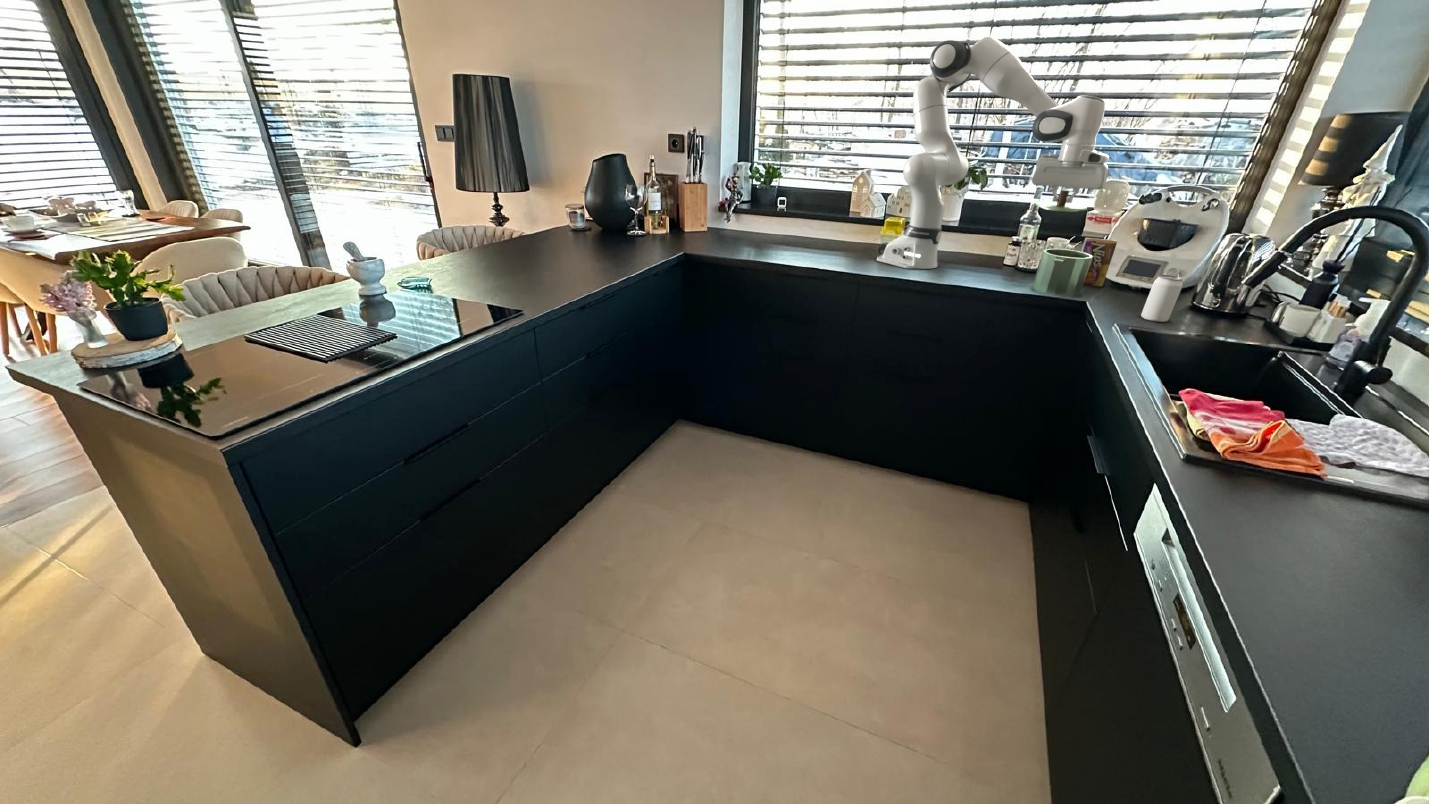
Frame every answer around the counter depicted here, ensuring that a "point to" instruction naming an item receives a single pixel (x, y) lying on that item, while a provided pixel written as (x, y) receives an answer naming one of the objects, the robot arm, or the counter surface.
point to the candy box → (1098, 259)
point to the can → (1162, 298)
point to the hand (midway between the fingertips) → (1061, 202)
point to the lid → (1061, 204)
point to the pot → (1062, 272)
